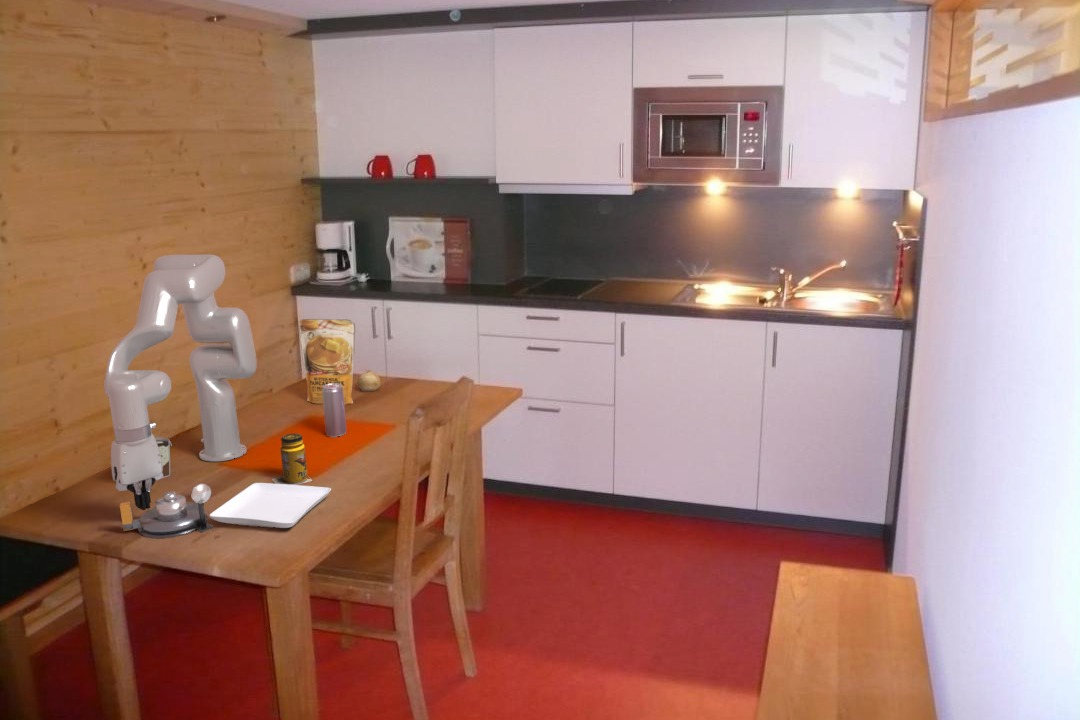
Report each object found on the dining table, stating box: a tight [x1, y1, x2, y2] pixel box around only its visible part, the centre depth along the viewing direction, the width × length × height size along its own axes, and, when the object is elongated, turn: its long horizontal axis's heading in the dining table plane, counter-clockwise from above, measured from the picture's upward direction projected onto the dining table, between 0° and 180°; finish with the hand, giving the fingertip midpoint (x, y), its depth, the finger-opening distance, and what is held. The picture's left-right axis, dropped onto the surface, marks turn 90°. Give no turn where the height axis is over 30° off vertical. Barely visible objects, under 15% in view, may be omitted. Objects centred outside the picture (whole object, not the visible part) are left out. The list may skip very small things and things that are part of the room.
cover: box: [155, 491, 188, 522], centre depth 209 cm, size 6×6×6 cm
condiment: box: [271, 432, 313, 485], centre depth 235 cm, size 7×8×12 cm
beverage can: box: [322, 383, 347, 438], centre depth 270 cm, size 6×6×15 cm
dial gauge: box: [190, 483, 214, 533], centre depth 207 cm, size 3×4×11 cm
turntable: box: [119, 501, 206, 535], centre depth 210 cm, size 18×14×6 cm
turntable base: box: [138, 512, 209, 539], centre depth 211 cm, size 15×15×1 cm
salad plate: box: [208, 482, 332, 529], centre depth 216 cm, size 21×21×3 cm
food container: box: [139, 436, 173, 486], centre depth 240 cm, size 12×6×10 cm, turn 134°
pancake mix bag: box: [297, 318, 356, 406], centre depth 301 cm, size 7×19×28 cm, turn 77°
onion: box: [356, 369, 381, 393], centre depth 317 cm, size 8×8×7 cm
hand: (143, 507), depth 212 cm, fingers closed
